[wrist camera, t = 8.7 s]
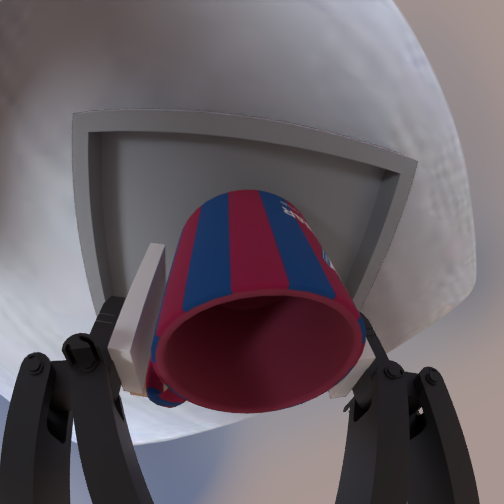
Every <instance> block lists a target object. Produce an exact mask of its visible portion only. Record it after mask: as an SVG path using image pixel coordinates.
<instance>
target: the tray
mask: <svg viewBox="0 0 504 504" xmlns="http://www.w3.org/2000/svg"><path fill="white" fill-rule="evenodd" d="M417 164H418V161H416V160H414V159H411V158H409V157H407V156H405V155H402V154H400V153H397V152H395V151H392V150H389V149H386V148H383V147H380V146H377V145H374V144H371V143H367V142H364V141H361V140H357V139H354V138H351V137H347V136H343V135H340V134H336V133H332V132H328V131H324V130H320V129H316V128H311V127H307V126H302V125H297V124H293V123H287V122H282V121H277V120H271V119H265V118H259V117H252V116H245V115H238V114H229V113H220V112H210V111H198V110H182V109H108V110H93V111H86V112H80V113H74V114H73V120H72V170H73V187H74V199H75V209H76V218H77V225H78V232H79V239H80V245H81V251H82V256H83V262H84V267H85V271H86V276H87V281H88V285H89V289H90V293H91V297H92V301H93V305H94V308H95V312H96V315H97V316H98V314H99V312H100V310H101V308H102V306H103V303H104V302H105V301H107V300H108V299H109V298H110V297H111V296H117V297H124V298H126V297H127V295H128V292H129V290H130V288H131V285H132V283H133V281H134V278H135V276H136V274H137V271H138V269H139V267H140V265H141V262H142V260H143V258H144V256H145V254H146V252H147V249H148V247H149V245H150V243H157V244H165V259H166V284H167V280H168V276H169V273H170V269H171V266H172V262H173V259H174V255H175V252H176V248H177V245H178V242H179V238H180V235H181V232H182V229H183V227H184V225H185V224H186V222H187V220H188V219H189V217H190V216H191V215H192V214H193V213H194V212H195V210H196V209H197V208H199V207H200V206H201V205H203V204H204V203H205V202H206V201H208V200H210V199H212V198H214V197H216V196H218V195H221V194H224V193H227V192H230V191H237V190H260V191H265V192H269V193H272V194H275V195H277V196H279V197H282V198H283V199H285V200H286V201H288V202H290V203H291V204H292V205H293V206H294V207H296V208H297V209H298V210H299V211H300V212H301V214H302V215H303V217H304V218H305V220H306V221H307V223H308V224H309V226H310V228H311V229H312V231H313V233H314V234H315V236H316V237H317V239H318V241H319V242H320V244H321V246H322V247H323V249H324V251H325V253H326V254H327V256H328V258H329V259H330V261H331V263H332V265H333V266H334V268H335V270H336V271H337V273H338V275H339V277H340V279H341V280H342V282H343V284H344V286H345V287H346V289H347V291H348V293H349V295H350V296H351V298H352V300H353V302H354V304H355V306H356V308H357V309H358V311H360V309H361V307H362V305H363V303H364V301H365V299H366V297H367V295H368V293H369V291H370V289H371V287H372V285H373V283H374V280H375V278H376V276H377V274H378V272H379V269H380V267H381V265H382V262H383V260H384V258H385V255H386V253H387V251H388V248H389V246H390V243H391V241H392V238H393V236H394V233H395V230H396V228H397V225H398V222H399V220H400V217H401V214H402V211H403V208H404V206H405V203H406V200H407V197H408V194H409V191H410V187H411V184H412V181H413V178H414V174H415V171H416V167H417Z"/></svg>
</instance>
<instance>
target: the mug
mask: <svg viewBox="0 0 504 504" xmlns="http://www.w3.org/2000/svg"><path fill="white" fill-rule="evenodd" d="M365 343H366V329H365V325H364V321H363V319H362V317H361V315H360V313H359V311H358V309H357V308H356V306H355V304H354V302H353V300H352V298H351V296H350V295H349V293H348V291H347V289H346V287H345V286H344V284H343V282H342V280H341V279H340V277H339V275H338V273H337V271H336V270H335V268H334V266H333V265H332V263H331V261H330V259H329V258H328V256H327V254H326V253H325V251H324V249H323V247H322V246H321V244H320V242H319V241H318V239H317V237H316V236H315V234H314V233H313V231H312V229H311V228H310V226H309V224H308V223H307V221H306V220H305V218H304V217H303V215H302V214H301V212H300V211H299V210H298V209H297V208H296V207H294V206H293V205H292V204H291V203H290V202H288V201H286V200H285V199H283V198H282V197H279V196H277V195H275V194H272V193H269V192H265V191H260V190H237V191H230V192H227V193H224V194H221V195H218V196H216V197H214V198H212V199H210V200H208V201H206V202H205V203H204V204H203V205H201V206H200V207H199V208H197V209H196V210H195V212H194V213H193V214H192V215H191V216H190V217H189V219H188V220H187V222H186V224H185V225H184V227H183V229H182V232H181V235H180V238H179V242H178V245H177V248H176V252H175V255H174V259H173V262H172V266H171V269H170V273H169V276H168V280H167V284H166V287H165V291H164V295H163V299H162V303H161V307H160V311H159V315H158V319H157V323H156V328H155V332H154V336H153V341H152V346H151V357H150V360H149V363H148V368H147V373H146V393H147V397H148V398H149V399H150V400H151V401H152V402H154V403H155V404H157V405H160V406H163V407H168V408H172V407H176V406H178V405H180V404H182V403H184V402H185V401H189V402H191V403H193V404H196V405H199V406H202V407H205V408H208V409H212V410H217V411H223V412H230V413H263V412H270V411H276V410H281V409H285V408H289V407H293V406H296V405H299V404H302V403H304V402H307V401H309V400H311V399H313V398H316V397H317V396H319V395H321V394H323V393H325V392H327V391H328V390H330V389H331V388H332V387H334V386H335V385H337V384H338V383H339V382H340V381H341V380H343V379H344V378H345V377H346V376H347V375H348V374H349V373H350V371H351V370H352V369H353V368H354V366H355V365H356V364H357V362H358V360H359V359H360V357H361V355H362V353H363V350H364V346H365ZM164 384H165V385H166V386H167V387H168V388H167V390H166V391H164Z"/></svg>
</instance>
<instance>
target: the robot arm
mask: <svg viewBox="0 0 504 504" xmlns="http://www.w3.org/2000/svg"><path fill="white" fill-rule="evenodd" d="M165 287H166V259H165V244H157V243H150V245H149V247H148V249H147V252H146V254H145V256H144V258H143V260H142V262H141V265H140V267H139V269H138V271H137V274H136V276H135V278H134V281H133V283H132V285H131V288H130V290H129V292H128V295H127V297H126V298H124V297H117V296H111V297H110V298H109V299H108V300H107V301H105V302H104V303H103V306H102V308H101V310H100V312H99V314H98V316H97V319H96V321H95V323H94V325H93V328H92V330H91V332H90V335H89V334H87V333H78V334H74V335H72V336H70V337H69V338H67V340H66V341H65V342H64V344H63V347H62V352H63V354H64V356H65V358H66V360H64V361H50V360H49V358H48V357H47V356H46V355H45V354H42V353H40V352H35V353H32V354H29V355H28V356H27V357H26V358H24V360H23V362H22V364H21V367H20V370H19V373H18V376H17V380H16V383H15V387H14V390H13V394H12V398H11V402H10V406H9V411H8V415H7V420H6V426H5V431H4V437H3V444H2V452H1V461H0V504H70V451H71V437H72V426H73V417H74V425H75V431H76V438H77V443H78V449H79V453H80V459H81V463H82V467H83V472H84V476H85V480H86V483H87V487H88V490H89V494H90V497H91V500H92V503H93V504H154V502H153V500H152V498H151V495H150V493H149V490H148V488H147V485H146V482H145V480H144V477H143V475H142V472H141V469H140V466H139V463H138V460H137V457H136V454H135V451H134V447H133V444H132V441H131V437H130V433H129V430H128V426H127V422H126V418H125V414H124V410H123V406H122V401H121V398H120V395H119V391H120V387H121V385H122V387H123V390H124V391H128V392H133V393H139V394H143V389H144V384H145V378H146V373H147V368H148V363H149V358H150V354H151V346H152V341H153V336H154V332H155V328H156V323H157V319H158V315H159V311H160V307H161V303H162V299H163V295H164V291H165ZM359 313H360V315H361V317H362V319H363V321H364V325H365V329H366V343H365V346H364V350H363V353H362V355H361V357H360V359H359V360H358V362H357V364H356V365H355V366H354V368H353V369H352V370H351V371H350V373H349V374H348V375H347V376H346V377H345V378H344V379H343V380H341V381H340V382H339V383H338V384H337V385H335V386H334V387H332V388H331V389H330V390H328V392H329V395H330V398H337V397H346V396H347V395H348V394H349V392H350V391H351V390H353V393H354V397H353V398H352V400H351V401H350V402H349V403H348V404H347V405H346V406H345V408H344V410H343V412H346V411H347V410H348V408H349V407H350V411H349V413H350V414H349V423H348V432H347V440H346V447H345V454H344V460H343V466H342V472H341V477H340V482H339V488H338V493H337V497H336V502H335V504H480V503H479V497H478V491H477V487H476V481H475V476H474V472H473V468H472V464H471V460H470V456H469V452H468V449H467V445H466V442H465V438H464V435H463V432H462V429H461V426H460V423H459V420H458V417H457V414H456V411H455V408H454V406H453V403H452V401H451V398H450V395H449V393H448V390H447V388H446V385H445V383H444V380H443V378H442V376H441V374H440V373H439V372H438V371H437V370H436V369H434V368H432V367H424V368H423V369H422V370H421V371H420V373H419V374H416V373H410V372H404V370H403V368H402V367H401V366H400V365H399V364H398V363H396V362H394V361H390V360H389V359H388V357H387V355H386V353H385V351H384V349H383V347H382V345H381V343H380V341H379V339H378V337H376V333H375V331H374V330H373V327H372V326H371V324H370V322H369V320H368V319H367V318H366V317H365V316H364V315H363V314H362V313H361V312H359ZM421 407H422V409H423V413H422V414H420V413H419V411H418V410H419V409H420V408H421Z"/></svg>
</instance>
